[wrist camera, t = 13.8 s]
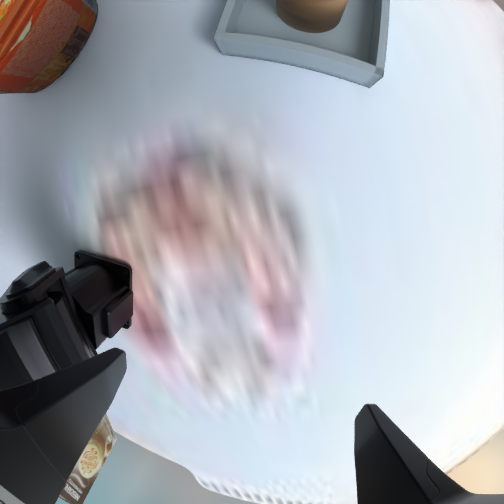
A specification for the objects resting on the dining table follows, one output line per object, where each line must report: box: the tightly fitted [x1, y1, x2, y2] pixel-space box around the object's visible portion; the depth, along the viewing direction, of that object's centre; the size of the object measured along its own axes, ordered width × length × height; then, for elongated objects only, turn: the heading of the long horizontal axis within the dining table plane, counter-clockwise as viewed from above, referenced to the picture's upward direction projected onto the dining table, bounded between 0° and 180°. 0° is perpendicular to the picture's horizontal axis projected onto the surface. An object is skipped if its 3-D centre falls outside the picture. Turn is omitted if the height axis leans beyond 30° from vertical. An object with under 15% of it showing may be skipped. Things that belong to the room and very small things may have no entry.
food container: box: [0, 0, 98, 94], centre depth 11 cm, size 16×16×11 cm
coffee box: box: [59, 413, 117, 504], centre depth 23 cm, size 9×6×16 cm
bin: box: [214, 0, 390, 88], centre depth 13 cm, size 11×11×3 cm
